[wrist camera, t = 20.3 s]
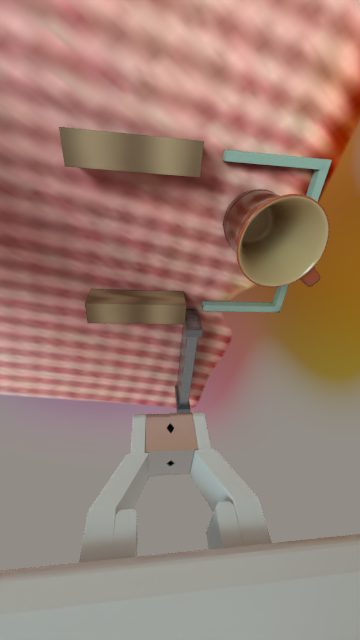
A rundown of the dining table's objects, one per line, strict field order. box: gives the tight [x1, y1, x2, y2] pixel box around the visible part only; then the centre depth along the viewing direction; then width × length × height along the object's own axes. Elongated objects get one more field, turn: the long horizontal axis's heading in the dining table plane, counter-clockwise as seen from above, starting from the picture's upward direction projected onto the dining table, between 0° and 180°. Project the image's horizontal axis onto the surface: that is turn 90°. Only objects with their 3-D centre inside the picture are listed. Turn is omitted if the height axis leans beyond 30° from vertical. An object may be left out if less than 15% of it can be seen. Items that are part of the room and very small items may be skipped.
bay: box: [202, 150, 332, 312], centre depth 34 cm, size 12×20×1 cm, turn 176°
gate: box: [175, 310, 203, 413], centre depth 42 cm, size 2×18×5 cm, turn 176°
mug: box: [223, 189, 329, 287], centre depth 29 cm, size 12×9×10 cm
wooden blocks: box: [59, 127, 204, 324], centre depth 31 cm, size 13×21×4 cm, turn 176°
